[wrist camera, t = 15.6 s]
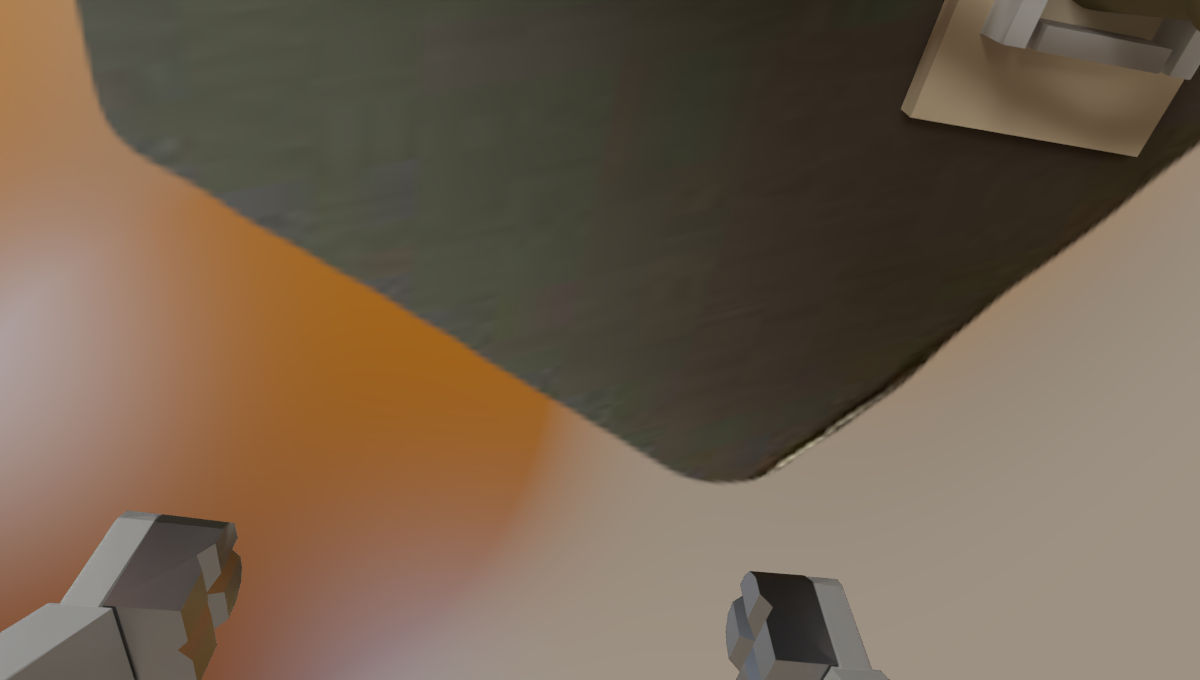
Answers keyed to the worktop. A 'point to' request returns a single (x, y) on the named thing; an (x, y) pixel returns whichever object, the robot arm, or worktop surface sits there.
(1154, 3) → the cork
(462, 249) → the worktop surface
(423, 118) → the worktop surface
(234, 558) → the robot arm
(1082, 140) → the collar board
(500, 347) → the worktop surface
